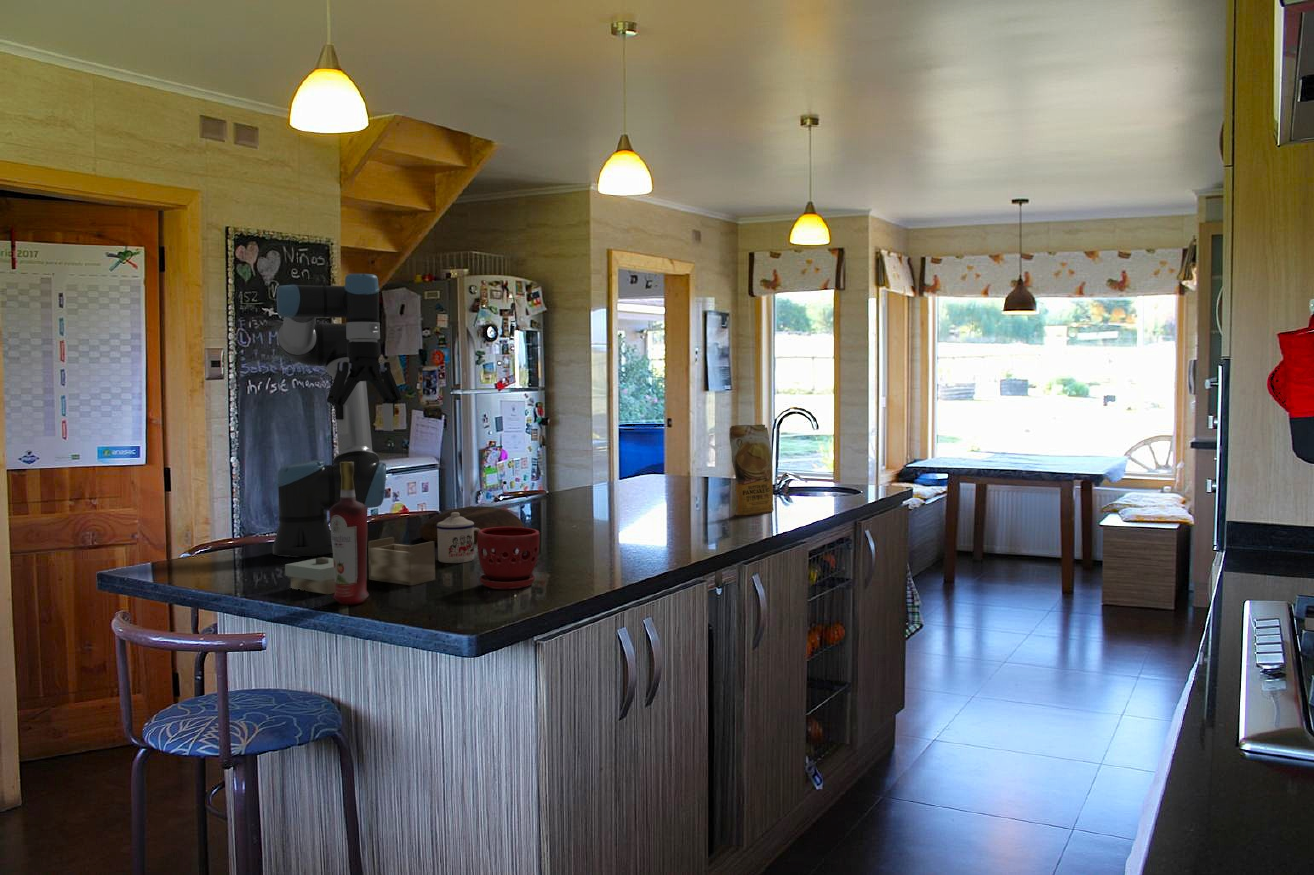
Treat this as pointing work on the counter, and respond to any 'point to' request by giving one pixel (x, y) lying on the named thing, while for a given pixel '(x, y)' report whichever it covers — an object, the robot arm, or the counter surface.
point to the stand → (313, 585)
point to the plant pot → (508, 556)
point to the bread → (477, 514)
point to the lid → (312, 569)
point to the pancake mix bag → (752, 469)
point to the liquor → (349, 541)
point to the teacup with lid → (456, 539)
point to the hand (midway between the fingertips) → (366, 432)
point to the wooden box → (401, 562)
